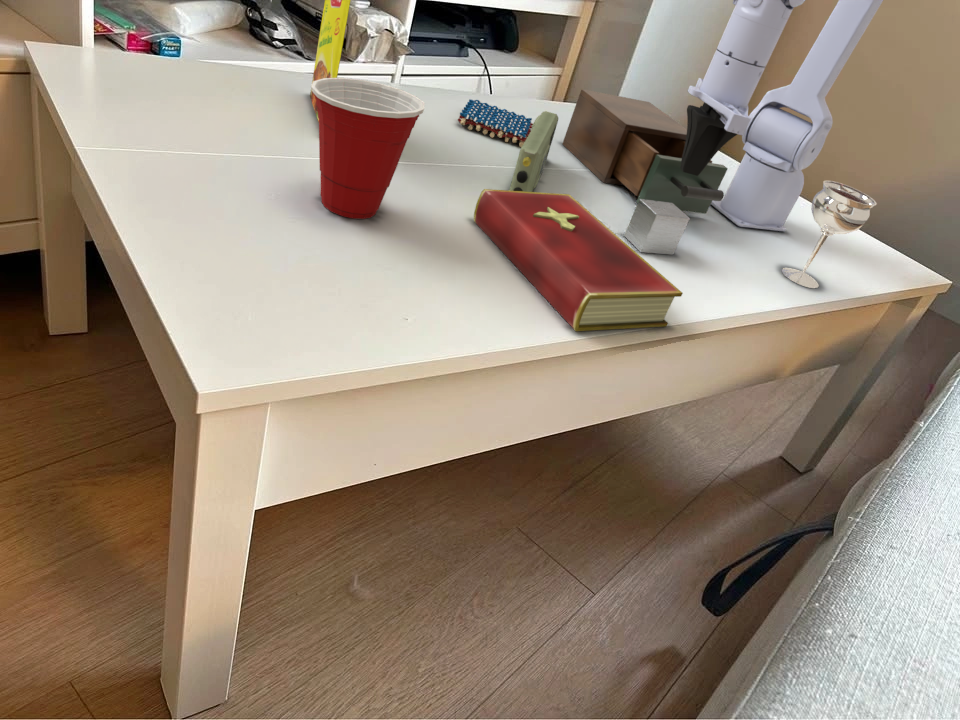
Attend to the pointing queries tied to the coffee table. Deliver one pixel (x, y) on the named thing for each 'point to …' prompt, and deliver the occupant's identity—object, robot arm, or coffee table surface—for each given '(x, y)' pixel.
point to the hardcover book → (575, 260)
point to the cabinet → (612, 129)
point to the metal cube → (656, 227)
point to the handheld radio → (534, 153)
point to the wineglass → (833, 220)
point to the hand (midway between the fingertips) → (689, 172)
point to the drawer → (666, 173)
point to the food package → (330, 42)
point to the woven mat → (496, 121)
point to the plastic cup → (360, 141)
